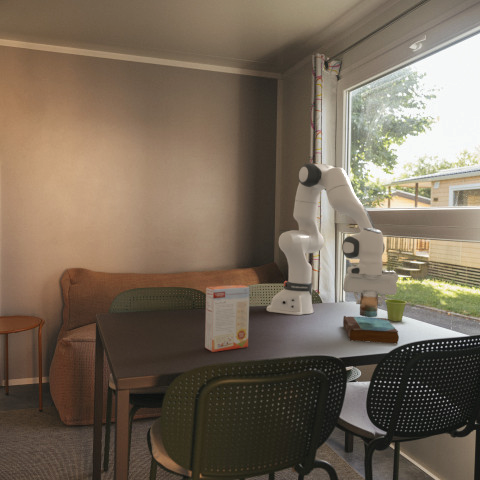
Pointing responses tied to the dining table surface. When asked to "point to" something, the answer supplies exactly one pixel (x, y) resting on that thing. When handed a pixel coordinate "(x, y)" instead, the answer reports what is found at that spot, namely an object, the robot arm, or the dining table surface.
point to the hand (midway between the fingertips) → (368, 304)
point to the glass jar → (368, 303)
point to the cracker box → (227, 317)
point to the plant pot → (395, 309)
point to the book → (370, 329)
